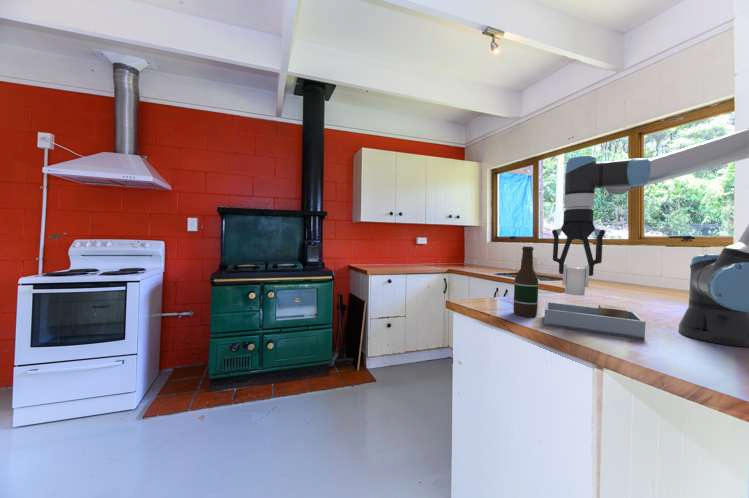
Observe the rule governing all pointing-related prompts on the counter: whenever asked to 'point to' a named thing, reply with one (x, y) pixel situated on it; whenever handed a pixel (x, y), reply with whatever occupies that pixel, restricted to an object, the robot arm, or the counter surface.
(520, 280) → the beer bottle
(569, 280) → the ceramic canister
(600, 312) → the walnut cube
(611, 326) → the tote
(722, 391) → the counter surface
